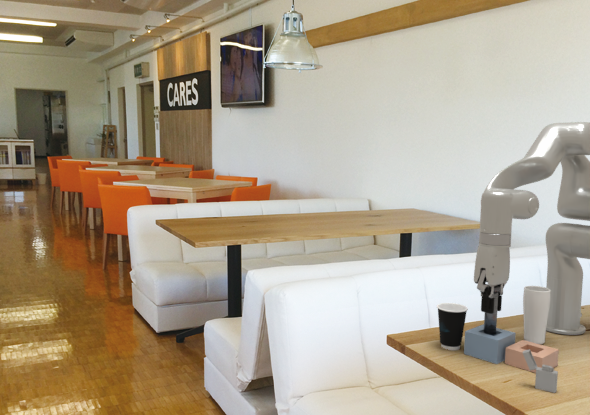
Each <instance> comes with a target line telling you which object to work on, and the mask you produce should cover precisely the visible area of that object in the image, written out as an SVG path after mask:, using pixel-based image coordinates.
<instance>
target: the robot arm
mask: <svg viewBox="0 0 590 415" xmlns="http://www.w3.org/2000/svg"><path fill="white" fill-rule="evenodd" d="M587 156H590V122H587V121H577V122H573V121H571V122H555V123H553V122H552V123H551V124H547V125H546V126H544V127H543V128H542V129H541V131H540V132H539V134H538V135H537V137H536V139H535V140H534V142H533V143H532V144H531V146H530V147H529V149H528V151H527V152H526V154H525V156H524V157H522V158H521V159H519V160H517V161H515V162H513V163H511V164H510V165H508V166H507V167H505V168H502V169H501V170H500V171H499V172H497V173H496V174H495V175H494V176H493V177H492V179H491V180H490V181H489V182H488V185H487V186H486V188H485V189H484V191H483V193H482V194H481V198H480V218H479V219H480V221H479V233H478V234H479V235H478V236H479V238H478V247H477V252H476V255H475V261H474V272H473V283H474V284H477V286H476V289H477V291H479V292H480V297H481V301H480V302H481V304H480V305H481V306H480V311H481V312H482V313H485V312H486V313H490V314H493V313H494V299H495V298H493V292H494V286H495V285H497V286H500V292H498V308H497V312H501V311H502V305H503V304H502V300H503V294H504V288H505V286H506V284H507V283H508V281H509V278H510V272H511V271H510V268H511V256H510V255H511V253H510V252H511V251H510V248H511V244H512V227H513V219H514V220H528V219H532V218H533V217H534V216H535V215H536V214H537V213H538V212H539V208H540V200H539V198H538V196H537V195H536V193H534V192H532V191H529V190H525V189H518V188H519V187H522V186H526V185H530V184H533V183H537V182H541V181H544V180H546V179H548V178H550V177H551V176H552V175H554V173H555V171H556V169H557V168H558V166H559V164H561V169H562V170H561V173H562V174H561V179H560V184H559V185H560V187H559V191H558V198H557V204H556V207H557V208H556V209H557V213H558V215H560V216H561V217H562V218H565V219H569V220H578V221H584V222H585V221H587V222H590V160H589V159H588V158H587ZM545 245H546V253H547V254H546V256H547V269H546V270H547V271H546V287H545V288H548V289H550V290H551V296H550V308H549V315H548V321H547V327H546V332H549V333H554V334H559V335H566V336H567V335H568V336H578V335H582V334H584V333H586V329H587V328H586V326H584V325H583V324H581V318H582V317H583V314H582V311H581V310H582V298H583V297H582V296H583V283H584V269H583V267H582V264H581V263H580V261H579V260H578V259H586V260H590V225H588V224H587V225H586V224H579V223H569V222H558V223H555V224H551V225H550V226H549V227H548V229H547V230H546V233H545ZM486 287H488V288H490V289H489V290H488V288H486Z"/></svg>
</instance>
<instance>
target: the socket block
mask: <svg viewBox="0 0 590 415" xmlns="http://www.w3.org/2000/svg"><path fill="white" fill-rule="evenodd" d="M515 343H516V332H514V331H510V330H507V329H502V328H499V327H496V334H486V333H484V323H483V324H481V325H478V326H475V327H473V328H469V329H467V330H465V331H464V345H463V347H464V348H463V349H464V350H463V354H464V355H466V356H469V357H472V358H476V359H480V360H482V361H486V362H489V363H492V364H495V365H499V364H500V363H502V362H505V350H506V347H508V346H510V345H513V344H515Z"/></svg>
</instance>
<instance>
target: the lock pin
mask: <svg viewBox="0 0 590 415" xmlns="http://www.w3.org/2000/svg"><path fill="white" fill-rule="evenodd" d="M486 288H488V287H486ZM489 289H490V288H488V290H489ZM498 292H500V286H497V285H495V286H494V292H493V298H495V299H494V313H493V314H490V313H486V312H484V315H483V316H484V318H483V319H484V320H483V324H484V333H486V334H496V328H497V325H498V324H497V322H498V311H497V308H498Z"/></svg>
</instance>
